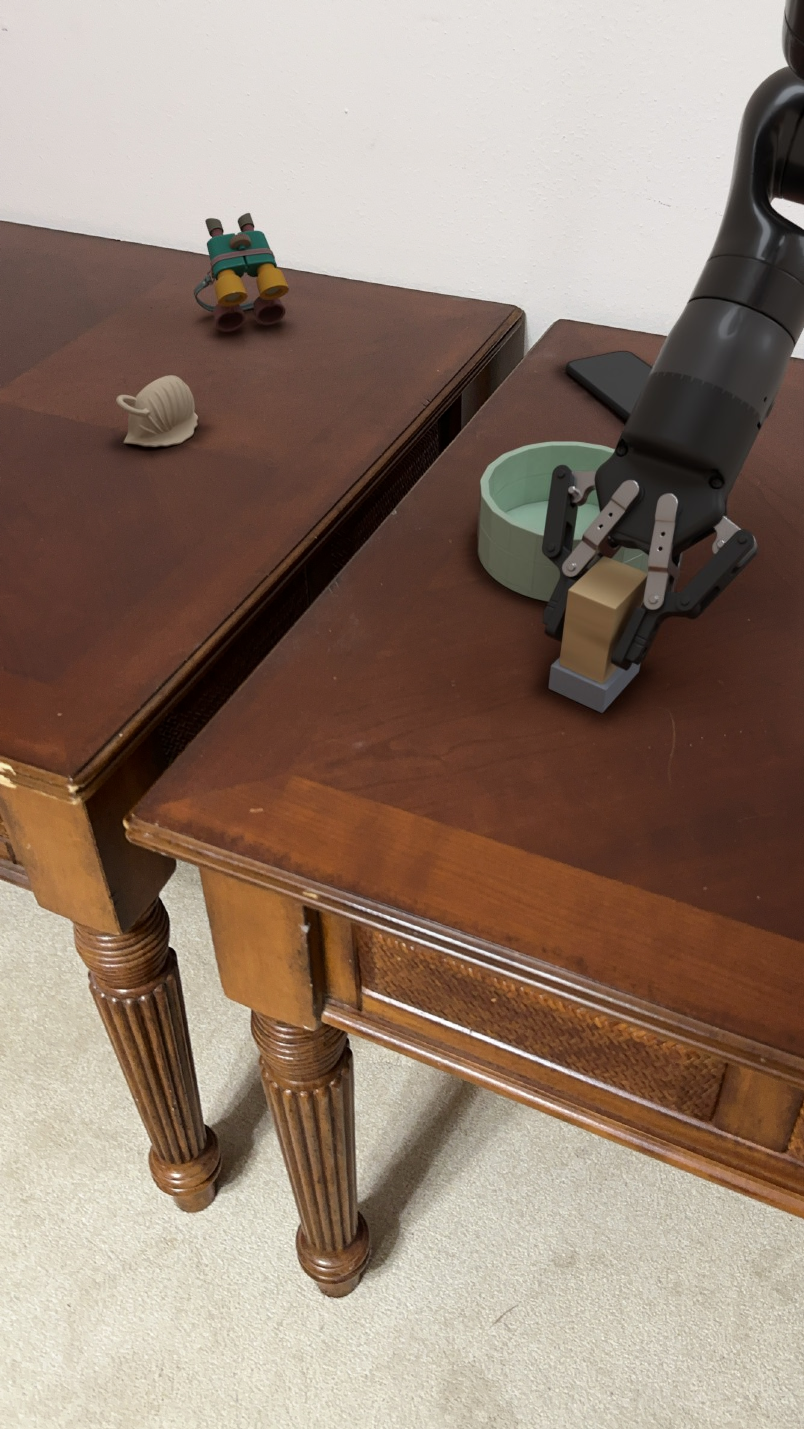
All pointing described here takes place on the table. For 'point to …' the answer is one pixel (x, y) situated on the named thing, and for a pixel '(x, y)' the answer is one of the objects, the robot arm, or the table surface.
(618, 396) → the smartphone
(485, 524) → the bowl
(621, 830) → the table surface
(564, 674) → the eraser
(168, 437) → the decorative ornament
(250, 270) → the binoculars
